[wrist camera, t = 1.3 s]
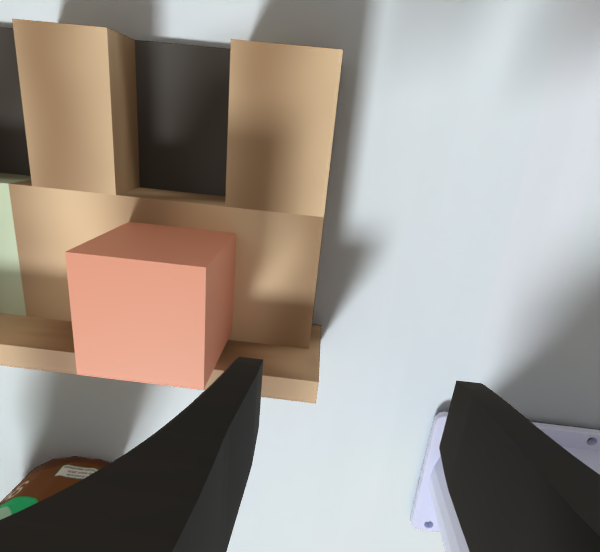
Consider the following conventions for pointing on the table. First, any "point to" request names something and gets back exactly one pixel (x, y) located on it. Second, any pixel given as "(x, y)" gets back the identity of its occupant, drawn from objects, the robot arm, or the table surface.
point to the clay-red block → (152, 303)
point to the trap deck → (165, 179)
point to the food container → (48, 482)
